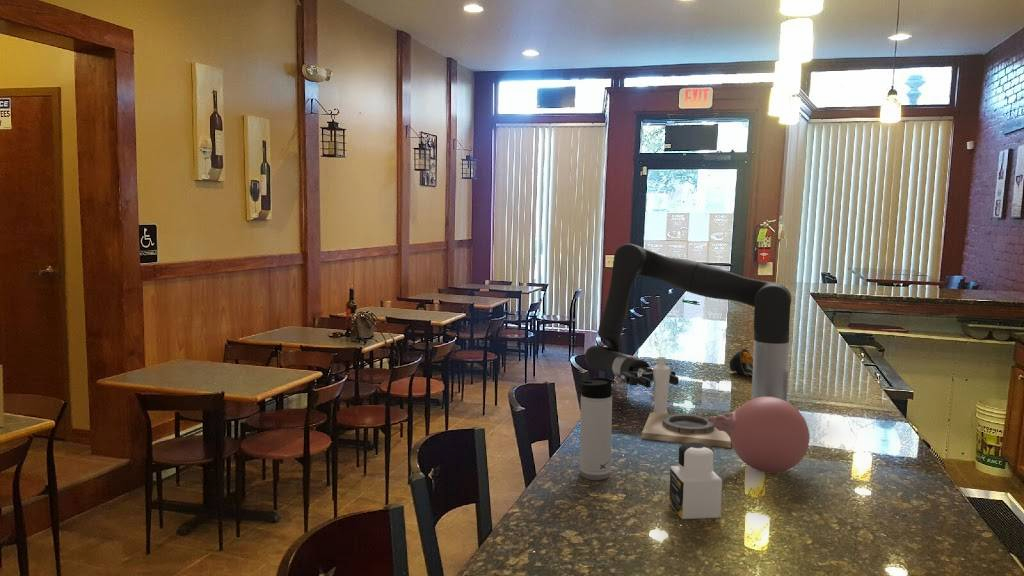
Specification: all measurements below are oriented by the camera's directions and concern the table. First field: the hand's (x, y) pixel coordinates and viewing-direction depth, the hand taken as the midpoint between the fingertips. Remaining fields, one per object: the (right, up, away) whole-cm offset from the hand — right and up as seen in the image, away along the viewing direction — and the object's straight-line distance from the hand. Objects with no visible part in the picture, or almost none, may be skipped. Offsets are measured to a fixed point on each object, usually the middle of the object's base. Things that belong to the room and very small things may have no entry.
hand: (663, 382), depth 181 cm
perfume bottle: (-1, -9, +2) cm, 9 cm away
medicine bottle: (-7, -15, -57) cm, 60 cm away
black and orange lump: (+39, -4, +42) cm, 57 cm away
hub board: (+3, -10, -14) cm, 17 cm away
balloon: (+11, -13, -37) cm, 41 cm away
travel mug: (-23, -13, -41) cm, 49 cm away
